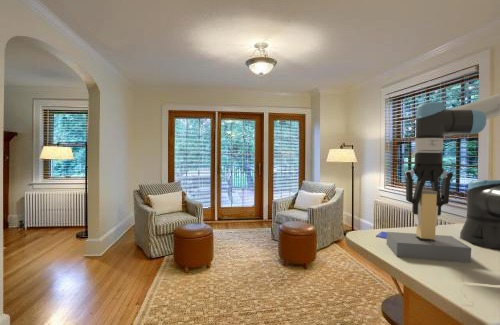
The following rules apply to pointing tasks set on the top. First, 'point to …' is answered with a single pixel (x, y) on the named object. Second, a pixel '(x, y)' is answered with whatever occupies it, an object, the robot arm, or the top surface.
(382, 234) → the hard drive
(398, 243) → the socket block
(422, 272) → the top surface
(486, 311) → the top surface
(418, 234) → the plug
